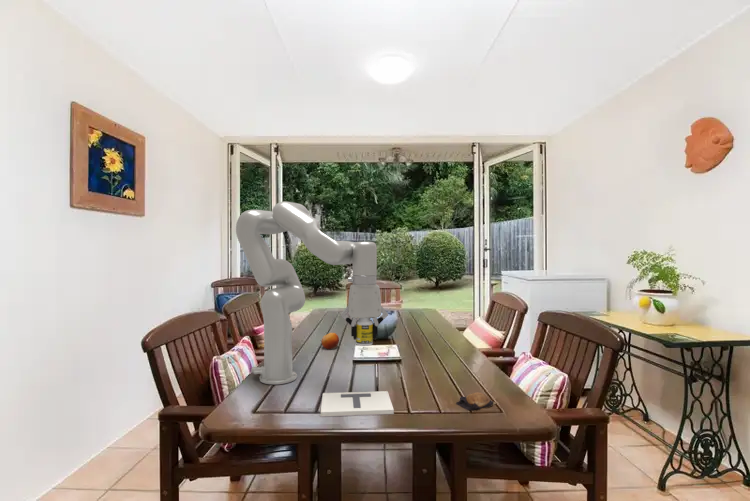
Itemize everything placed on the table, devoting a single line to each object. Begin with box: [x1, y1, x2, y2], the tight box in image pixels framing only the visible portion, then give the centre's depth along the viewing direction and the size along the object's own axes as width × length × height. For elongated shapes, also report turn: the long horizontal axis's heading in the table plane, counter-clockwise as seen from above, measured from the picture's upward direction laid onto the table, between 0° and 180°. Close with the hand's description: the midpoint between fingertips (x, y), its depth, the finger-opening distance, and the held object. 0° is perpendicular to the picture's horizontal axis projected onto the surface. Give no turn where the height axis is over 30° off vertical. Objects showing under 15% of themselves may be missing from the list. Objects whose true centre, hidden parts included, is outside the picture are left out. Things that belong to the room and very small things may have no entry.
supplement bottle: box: [355, 318, 374, 347], centre depth 127 cm, size 5×5×10 cm
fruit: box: [320, 332, 340, 350], centre depth 181 cm, size 8×8×8 cm
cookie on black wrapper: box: [455, 391, 497, 412], centre depth 118 cm, size 11×8×4 cm
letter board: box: [320, 390, 395, 418], centre depth 117 cm, size 20×14×1 cm
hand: (364, 337), depth 127 cm, fingers closed on supplement bottle, 5 cm apart
